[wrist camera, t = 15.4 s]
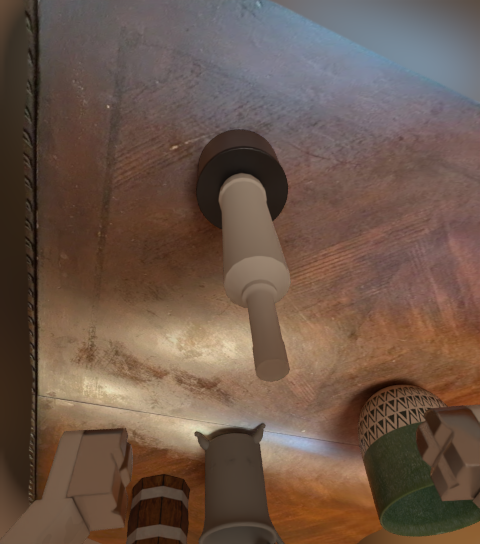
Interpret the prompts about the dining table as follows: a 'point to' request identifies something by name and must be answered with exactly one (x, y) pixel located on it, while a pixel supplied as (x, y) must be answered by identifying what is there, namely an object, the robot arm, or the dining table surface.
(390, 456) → the planter
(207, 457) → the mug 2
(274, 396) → the dining table surface
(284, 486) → the dining table surface
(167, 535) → the mug
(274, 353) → the bottle
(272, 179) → the canister
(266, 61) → the dining table surface
